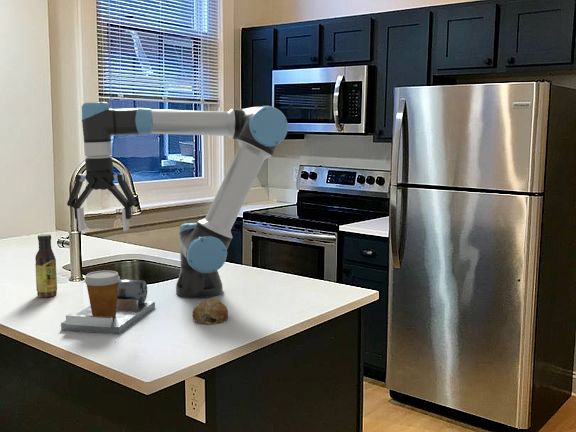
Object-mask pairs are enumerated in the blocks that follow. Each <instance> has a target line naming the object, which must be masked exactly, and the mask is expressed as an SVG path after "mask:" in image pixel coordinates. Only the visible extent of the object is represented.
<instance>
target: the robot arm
mask: <svg viewBox="0 0 576 432" xmlns="http://www.w3.org/2000/svg"><path fill="white" fill-rule="evenodd" d="M288 124H289V123H288V120H287V117H286V116H285V114H284V113H283V112H282V111H281V110H280V109H278V108H276V107H274V106H271V105H262V106H261V105H259V106H258V105H257V106H252V107H246V108H230V110H229V111H219V110H218V111H212V110H187V109H185V110H183V109H180V110H179V109H157V108H155V109H152V108H147V107H146V108H145V107H136V108H135V107H132V108H131V107H130V108H129V107H127V108H110V105H109V102H107V101H101V102H100V101H93V102H85V103H82V104H81V125H82V126H81V127H82V134H83V136H82V137H83V147H84V156H85V157H86V158H85V159H84V161H85V162H84V163H85V171H86V174H83V173H78V174H76V175H75V181H74V185H73V187H72V190H71V193H70V195H69V198H68V200H67V203H66V205H67V207H70V208H71V207H72V208H73V211H74V212H73V213H74V219H75V220H77V225H78V226H77V228H78V232H82V231H85V230H86V224H85V223H86V221H85V212H84V211H85V209H84V207H83V206H82V205H83V204H84V202H85V201H86V200H87V198H88V197H89V195H90V194H91V193H92V192H93V190H95V191H96V190H102V191H105V190H108V191H109V192H110V193H111V194H112V195H113V196H114V197H115V199H117V201H118V202H119V203H120V204H121V205H122V208H121V215H122V217H121V218H122V227H123V229H122V231H123V232H127V231H129V230H130V219H132V207H134V206H136V205H138V201H137V199H136V198H135V195H134V194H133V192H132V191H131V188H130V187H129V185H128V182H127V181H126V176H125V174H124V173H123V172H121V173H118V174H115V173H114V164H113V163H114V161H113V157H111V156H112V155H113V152H112V150H113V149H112V136H134V135H135V136H136V135H137V136H138V135H139V136H142V135H155V134H156V135H180V136H181V135H183V136H184V135H186V136H187V135H188V136H219V137H220V136H222V137H223V136H224V137H225V136H226V137H228V138H229V139H231V140H236V141H237V144H238V149H237V151H236V153H235V155H234V157H233V159H232V161H231V163H230V166H229V168H228V170H227V171H226V174H225V176H224V178H223V180H222V182H221V184H220V186H219V188H218V190H217V192H216V194H215V197H214V198H213V201H212V202H211V205H210V207H209V209H208V211H207V213H206V215H205V217H204V218H203V219H200V220H197V222H189V223H187V222H186V223H182V224H181V225H180V226H179V233H178V234H179V245H180V247H179V248H180V255H179V256H180V271H179V275H178V279H177V282H176V284H175V293H176V295H177V296H179V297H183V298H188V299H190V298H191V299H203V298H212V297H214V296H217V295H221V294H222V293H223V283H222V280H221V277H220V274H219V270H221V268H222V267H223V266H224V264H225V262H226V261H227V257H228V251H227V250H228V248H229V246H230V243H231V242H232V239H233V235H232V231H231V230H232V228H233V226H234V224H235V222H236V220H237V218H238V216H239V214H240V212H241V209H242V207H243V205H244V204H245V201H246V199H247V197H248V194H249V192H250V191H251V190H252V187H253V184H254V183H255V181H256V179H257V176H258V174H259V172H260V170H261V168H262V166H263V164H264V161H265V160H267V159H269V158H272V157H273V155H274V152H275V150H276V148H277V146H278V145H280V144H281V143H282V142H283V141H284V139H285V138H286V137H287V134H288V130H289V125H288ZM115 180H116V182H118V183H117V184H118V186H119V187H120V188H121V190H122V191H120V190H119V188H118V187H117V185H116V184H115V183H114V181H115ZM85 181H86V182H87V183H88V184H87V185H86V187H85V188H84V190H83V191H82V193H81V194H80V195H79V193H80V192H81V189H82V186H83V184H84V182H85ZM122 192H123V193H122Z"/></svg>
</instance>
